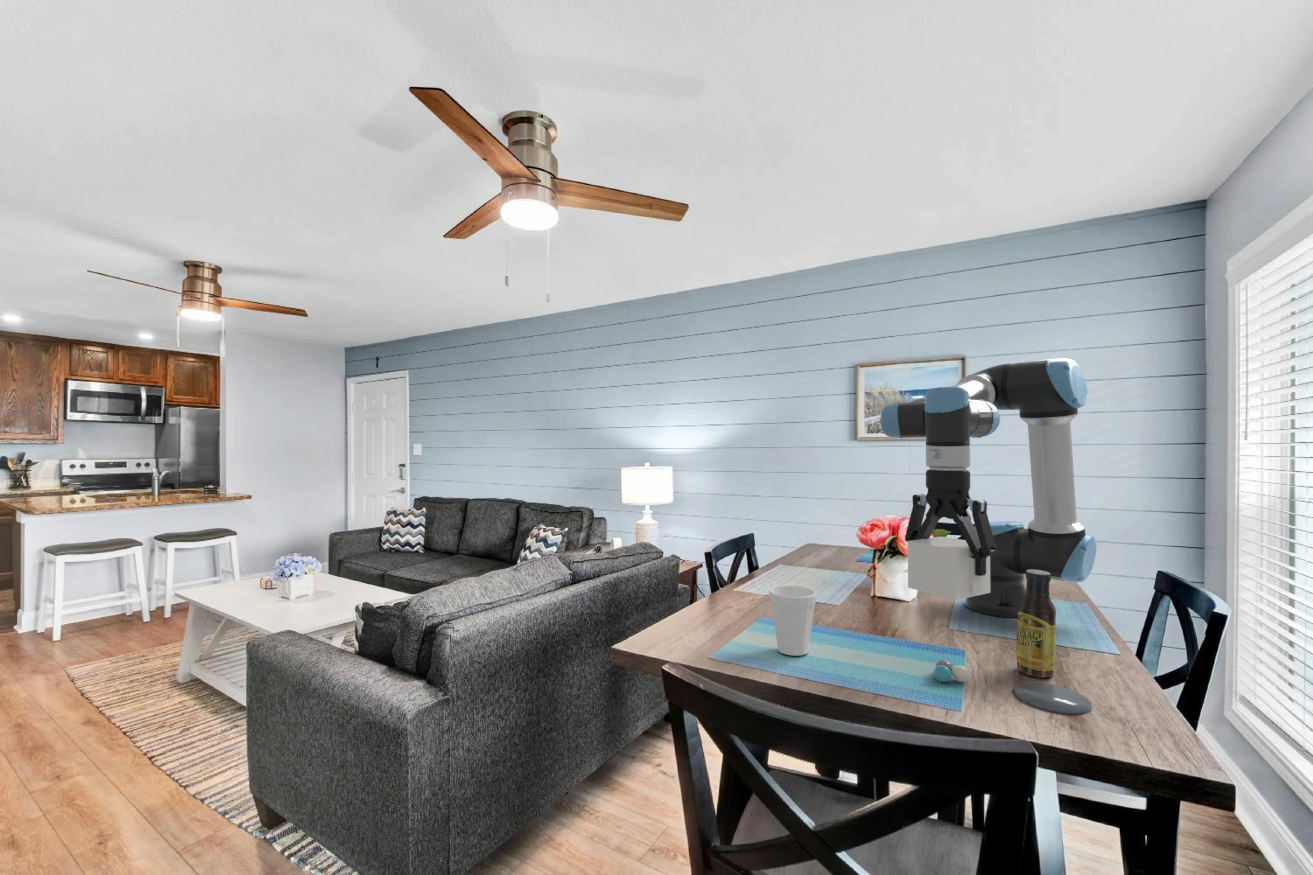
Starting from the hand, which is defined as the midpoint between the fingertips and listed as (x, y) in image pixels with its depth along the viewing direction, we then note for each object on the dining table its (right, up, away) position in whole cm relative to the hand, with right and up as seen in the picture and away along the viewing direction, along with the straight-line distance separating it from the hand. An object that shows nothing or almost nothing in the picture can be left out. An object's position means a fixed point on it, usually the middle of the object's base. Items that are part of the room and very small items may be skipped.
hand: (948, 586), depth 109 cm
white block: (0, -1, 0) cm, 1 cm away
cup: (-26, -18, +15) cm, 35 cm away
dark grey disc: (+14, -18, -9) cm, 24 cm away
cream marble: (+2, -18, -1) cm, 18 cm away
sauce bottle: (+18, -18, +3) cm, 26 cm away
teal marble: (-2, -18, -1) cm, 18 cm away
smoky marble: (0, -18, +2) cm, 18 cm away
